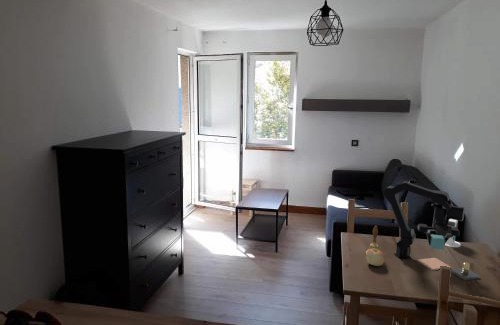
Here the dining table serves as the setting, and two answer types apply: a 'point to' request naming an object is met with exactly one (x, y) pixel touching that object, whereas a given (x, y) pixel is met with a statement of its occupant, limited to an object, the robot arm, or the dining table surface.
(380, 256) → the apple
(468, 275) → the post base
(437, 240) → the teal cube
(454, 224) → the white stand
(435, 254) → the dining table surface
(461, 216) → the robot arm
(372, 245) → the hand bell
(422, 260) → the tile
